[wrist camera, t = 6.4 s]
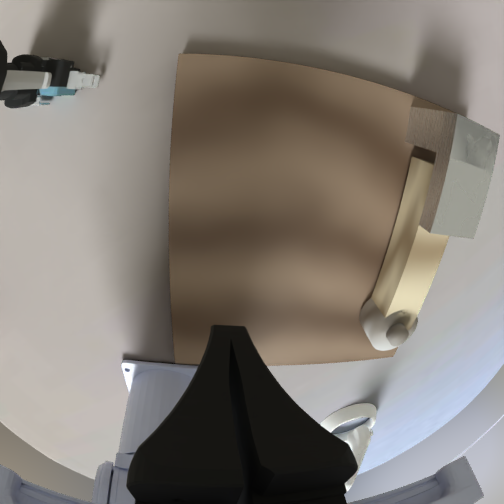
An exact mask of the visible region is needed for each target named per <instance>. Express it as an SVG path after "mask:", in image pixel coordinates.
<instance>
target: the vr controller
mask: <svg viewBox="0 0 504 504" xmlns="http://www.w3.org/2000/svg"><path fill="white" fill-rule="evenodd" d="M376 414H377V411H376V407H375V406H374V405H373V404H369V403H360V404H354V405H351V406H347V407H345V408H342V409H340V410H338V411H336V412H334V413H332V414H331V415H329V416H328V417H326V418H325V419H324V420H323V421H322V422H321V424H320V425H321V426H322V427H324V428H325V429H326V430H328V431H329V432H330V433H331V432H332V431H333V430H334V429H335V428H337V427H338V426H340V425H341V424H343V423H346V422H348V421H350V420H354V419H357V418H363V417H367V418H370V419H369V420H367V421H366V422H365V423H364V424H362V425H361V426H358V427H356V428H355V429H353V430H350V431H347V432H343V433H337V434H333V435H335V436H336V437H338V438H340V439H341V440H343V441H346V443H348V444H349V446H350V447H351V449H352V452H353V454H354V456H355V459H356V462H357V465H358V470H357V472H356V473H355V474H354V475H353V476H352V477H351V478H350V479H349V480H348V481H347V482H346V483H345V487H346V490H347V491H348V490H349V489H350V488H351V486H352V485H353V482H354V480H355V478H356V476H357V473H358V471H359V468H360V466H361V463H362V460H363V458H364V455H365V453H366V450H367V448H368V445H369V443H370V440H371V437H370V435H371V436H373V431H372V429H371V428H372V426H373V425H374V424H375V420H376ZM369 429H370V430H369ZM347 491H346V492H347Z"/></svg>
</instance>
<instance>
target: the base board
mask: <svg viewBox="0 0 504 504" xmlns="http://www.w3.org/2000/svg"><path fill="white" fill-rule="evenodd" d="M410 107H417V108H424V109H431V110H438V111H445V112H451V113H455V112H452V111H450V110H448V109H445V108H443V107H441V106H438V105H436V104H434V103H431V102H429V101H426V100H423V99H421V98H418V97H416V96H413V95H410V94H407V93H405V92H402V91H399V90H396V89H393V88H390V87H387V86H384V85H380V84H377V83H374V82H370V81H367V80H363V79H360V78H356V77H352V76H349V75H345V74H341V73H337V72H332V71H328V70H323V69H319V68H314V67H309V66H304V65H298V64H293V63H287V62H280V61H273V60H266V59H258V58H249V57H239V56H228V55H212V54H179V56H178V65H177V74H176V83H175V94H174V105H173V118H172V133H171V151H170V175H169V274H170V299H171V317H172V332H173V346H174V358H175V363H180V364H198V365H199V364H200V362H201V359H202V357H203V354H204V352H205V349H206V347H207V343H208V340H209V336H210V330H211V326H212V325H233V326H245V327H246V328H247V331H248V333H249V335H250V338H251V340H252V342H253V344H254V346H255V347H256V349H257V351H258V353H259V355H260V356H261V358H262V360H263V361H264V363H265V364H266V366H275V365H305V364H323V363H337V362H349V361H360V360H370V359H379V358H387V357H393V356H394V354H395V352H396V350H397V348H398V347H396V348H394V349H391V350H386V351H380V350H377V349H375V348H374V347H373V346H372V344H371V342H370V340H369V338H368V336H367V335H366V333H365V331H364V329H363V327H362V326H361V324H360V321H359V315H360V312H361V309H362V308H363V306H364V305H365V303H366V302H367V301H368V300H369V299H370V298H371V297H372V294H373V291H374V289H375V286H376V283H377V280H378V277H379V274H380V271H381V269H382V266H383V262H384V259H385V256H386V253H387V250H388V247H389V244H390V240H391V237H392V234H393V230H394V227H395V223H396V220H397V216H398V212H399V209H400V205H401V201H402V197H403V193H404V189H405V185H406V181H407V176H408V172H409V167H410V163H411V158H412V157H416V158H419V159H423V160H426V161H430V162H433V163H435V158H436V153H437V152H434V151H431V150H428V149H425V148H422V147H419V146H416V145H413V144H409V143H406V142H405V138H406V133H407V127H408V121H409V114H410ZM456 114H457V113H456Z"/></svg>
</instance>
